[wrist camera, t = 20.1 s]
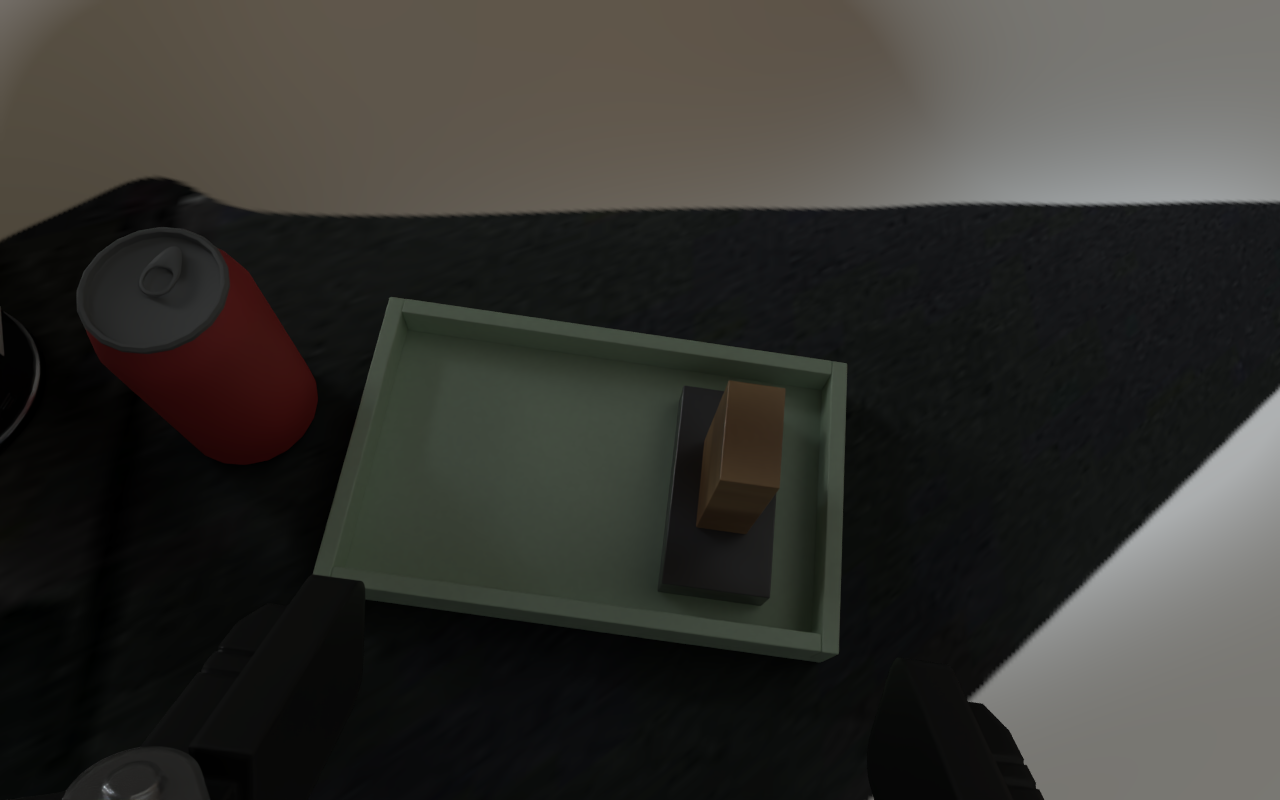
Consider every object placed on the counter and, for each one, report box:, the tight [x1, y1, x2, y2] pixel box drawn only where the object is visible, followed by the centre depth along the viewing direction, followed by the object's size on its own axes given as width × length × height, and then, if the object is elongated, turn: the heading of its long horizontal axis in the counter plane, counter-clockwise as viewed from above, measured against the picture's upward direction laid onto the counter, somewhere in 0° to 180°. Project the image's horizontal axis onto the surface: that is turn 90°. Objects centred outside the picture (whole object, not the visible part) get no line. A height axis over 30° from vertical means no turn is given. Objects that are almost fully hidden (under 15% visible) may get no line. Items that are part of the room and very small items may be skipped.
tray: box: [313, 297, 847, 662], centre depth 43 cm, size 24×15×3 cm, turn 83°
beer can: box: [77, 227, 318, 465], centre depth 39 cm, size 7×7×12 cm
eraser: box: [658, 380, 786, 606], centre depth 39 cm, size 10×5×9 cm, turn 173°
